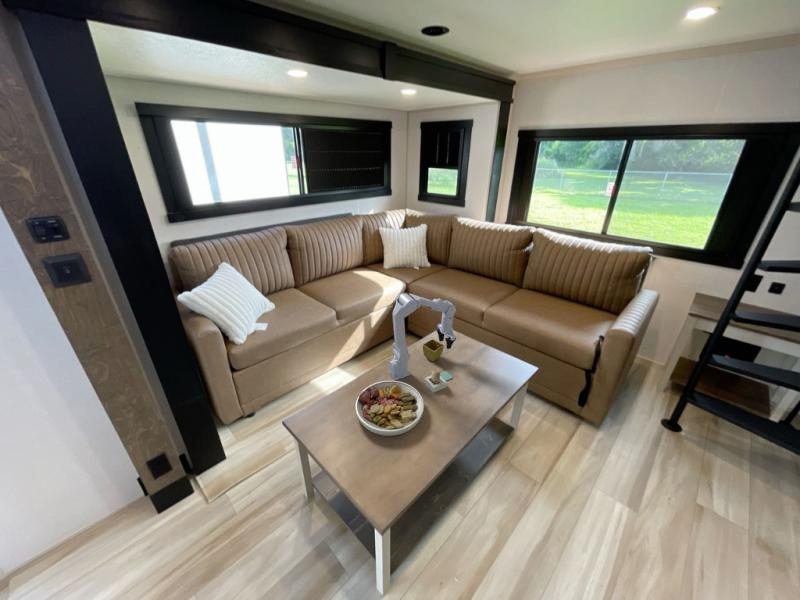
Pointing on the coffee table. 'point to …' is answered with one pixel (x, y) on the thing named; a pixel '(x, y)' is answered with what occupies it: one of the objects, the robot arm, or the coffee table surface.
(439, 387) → the socket block
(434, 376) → the dowel
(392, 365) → the robot arm
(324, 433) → the coffee table surface
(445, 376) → the pad
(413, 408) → the bowl
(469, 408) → the coffee table surface
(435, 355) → the flower pot
